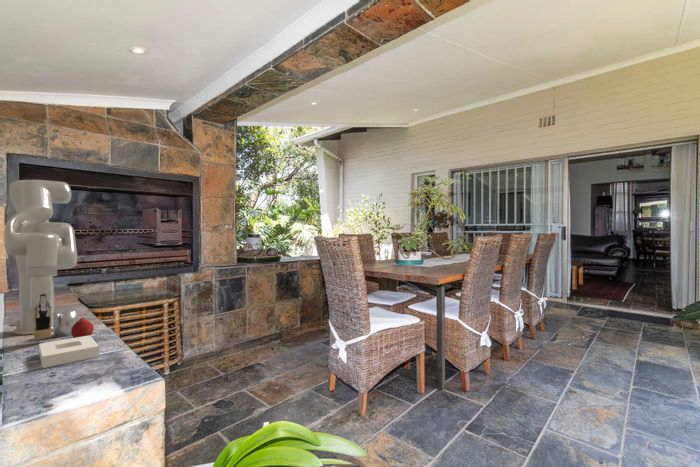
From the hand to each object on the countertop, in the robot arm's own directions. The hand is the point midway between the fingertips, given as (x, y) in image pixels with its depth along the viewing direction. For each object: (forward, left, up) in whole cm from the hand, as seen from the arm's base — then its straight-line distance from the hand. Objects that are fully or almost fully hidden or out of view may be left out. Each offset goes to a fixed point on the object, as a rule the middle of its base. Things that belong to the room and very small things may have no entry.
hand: (42, 327), depth 114 cm
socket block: (+18, -15, -5) cm, 24 cm away
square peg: (0, 0, -3) cm, 3 cm away
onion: (+13, -1, -5) cm, 14 cm away
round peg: (+1, +10, -5) cm, 11 cm away
